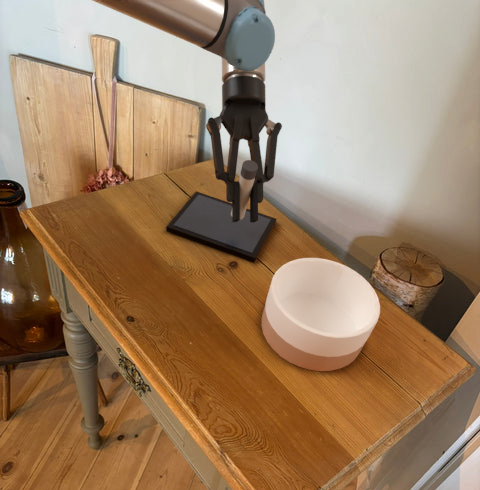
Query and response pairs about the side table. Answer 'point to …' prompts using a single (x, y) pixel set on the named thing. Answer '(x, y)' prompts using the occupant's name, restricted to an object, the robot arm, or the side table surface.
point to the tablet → (221, 227)
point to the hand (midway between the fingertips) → (245, 220)
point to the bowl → (319, 313)
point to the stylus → (246, 184)
